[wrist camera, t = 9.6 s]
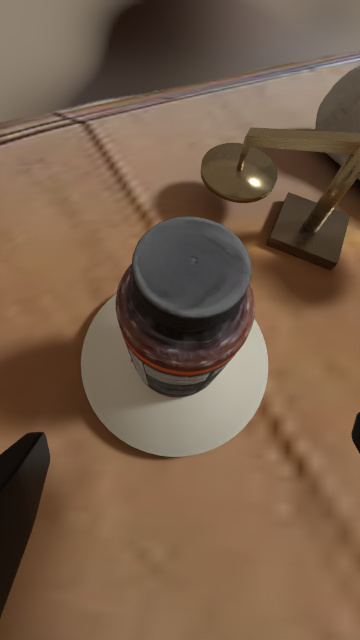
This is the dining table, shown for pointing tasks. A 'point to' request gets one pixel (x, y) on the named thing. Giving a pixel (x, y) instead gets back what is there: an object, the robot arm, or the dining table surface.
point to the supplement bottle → (185, 304)
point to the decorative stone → (341, 109)
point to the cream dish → (162, 411)
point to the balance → (296, 212)
